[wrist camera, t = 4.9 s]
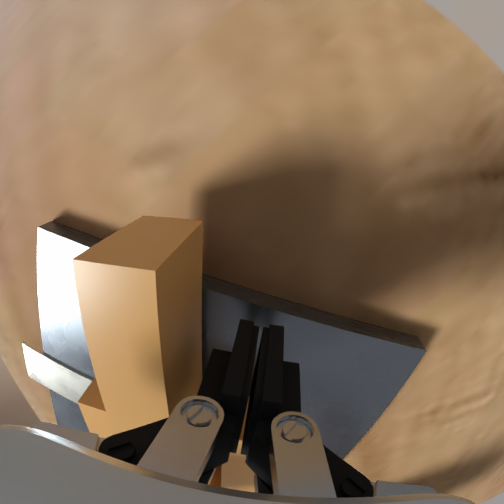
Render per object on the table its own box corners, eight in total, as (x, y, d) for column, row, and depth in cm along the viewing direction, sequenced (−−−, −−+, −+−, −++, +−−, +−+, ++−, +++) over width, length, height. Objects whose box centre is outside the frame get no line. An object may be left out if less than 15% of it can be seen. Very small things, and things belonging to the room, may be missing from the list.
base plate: (418, 337, 14) (489, 475, 6) (284, 504, 21) (279, 587, 13) (29, 212, 14) (-100, 273, 6) (52, 426, 21) (8, 495, 12)
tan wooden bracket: (294, 227, 11) (302, 287, 7) (254, 481, 17) (247, 541, 13) (78, 210, 12) (-4, 247, 7) (129, 456, 18) (106, 508, 13)
